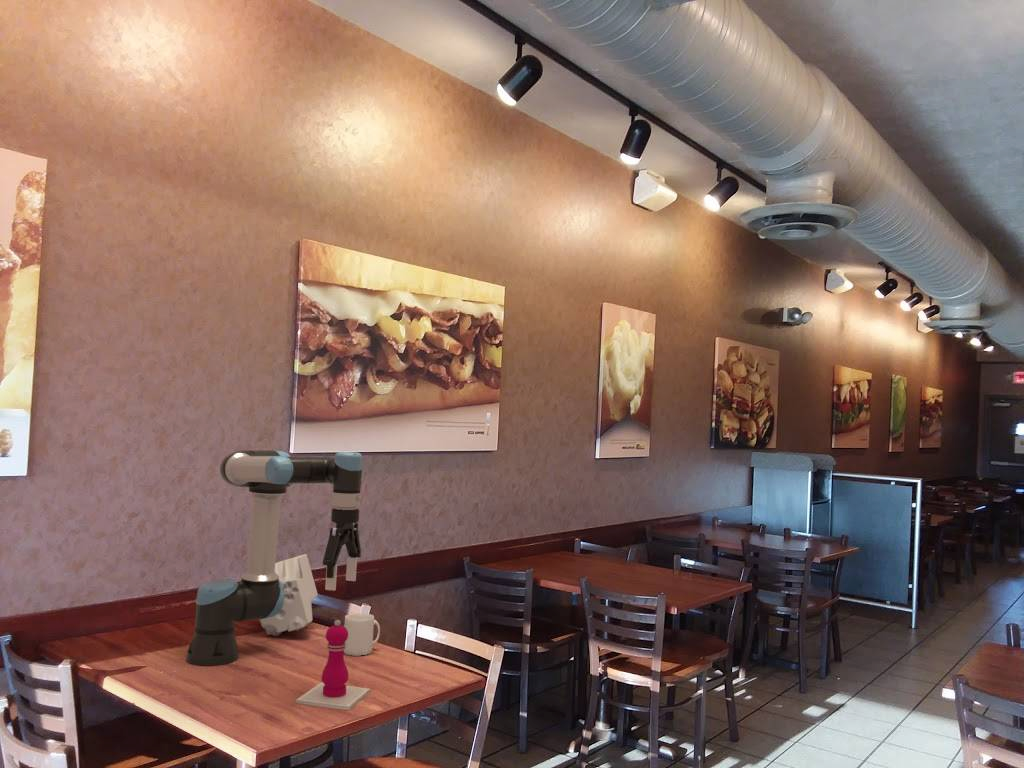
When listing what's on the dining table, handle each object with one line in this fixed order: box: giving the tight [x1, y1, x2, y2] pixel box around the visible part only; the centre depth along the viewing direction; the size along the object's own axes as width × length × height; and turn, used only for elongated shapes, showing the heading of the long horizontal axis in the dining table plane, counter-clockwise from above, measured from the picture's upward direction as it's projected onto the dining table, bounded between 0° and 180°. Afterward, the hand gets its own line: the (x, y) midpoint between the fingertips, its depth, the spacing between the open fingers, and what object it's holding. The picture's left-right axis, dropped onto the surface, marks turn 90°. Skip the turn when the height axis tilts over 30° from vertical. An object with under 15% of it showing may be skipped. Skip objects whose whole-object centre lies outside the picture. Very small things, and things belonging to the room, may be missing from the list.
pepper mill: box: [321, 619, 350, 697], centre depth 220 cm, size 7×7×20 cm
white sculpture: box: [259, 553, 319, 637], centre depth 283 cm, size 20×16×25 cm
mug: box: [344, 612, 381, 657], centre depth 264 cm, size 10×12×12 cm
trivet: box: [295, 682, 371, 711], centre depth 220 cm, size 15×15×1 cm
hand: (340, 585), depth 221 cm, fingers open, 13 cm apart
